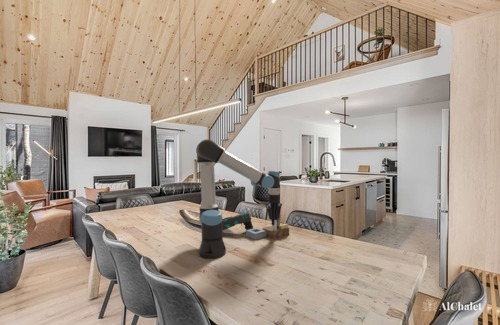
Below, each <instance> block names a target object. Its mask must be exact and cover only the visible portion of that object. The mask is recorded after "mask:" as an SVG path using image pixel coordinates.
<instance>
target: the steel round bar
mask: <svg viewBox="0 0 500 325" xmlns="http://www.w3.org/2000/svg"><path fill="white" fill-rule="evenodd" d="M279 225H281V216H280V217H279V218H278V220H277V229H279Z"/></svg>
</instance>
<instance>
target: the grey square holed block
mask: <svg viewBox="0 0 500 325" xmlns="http://www.w3.org/2000/svg"><path fill="white" fill-rule="evenodd" d="M245 237H247V238H249V239H252V240H255V241H256V240H259V239H262V238H265V237H266V230H263V229H262V228H259V227H253V229H249V230H246V229H245ZM266 238H267V237H266Z"/></svg>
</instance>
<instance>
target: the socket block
mask: <svg viewBox="0 0 500 325" xmlns="http://www.w3.org/2000/svg"><path fill="white" fill-rule="evenodd" d="M261 229H263V230H266V238H270V239H272V240H277V239H281V238H284V237H288V236H290V227H288V228H285V229H277V230H273V229H272V225H269V226H264V227H262V228H261Z"/></svg>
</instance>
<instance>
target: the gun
mask: <svg viewBox="0 0 500 325" xmlns="http://www.w3.org/2000/svg"><path fill="white" fill-rule="evenodd" d="M236 225H241V227H242V226H244V230H245V231H246V230H249V229H253V228H254V225H253V222H252V216H251V215H250V212H248V211H247V212H243V213H240V214H237V215H234V216H227V217H225V218H223V219H222V231H223V230H226V229H228V228H232V227H235V226H236Z"/></svg>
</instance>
